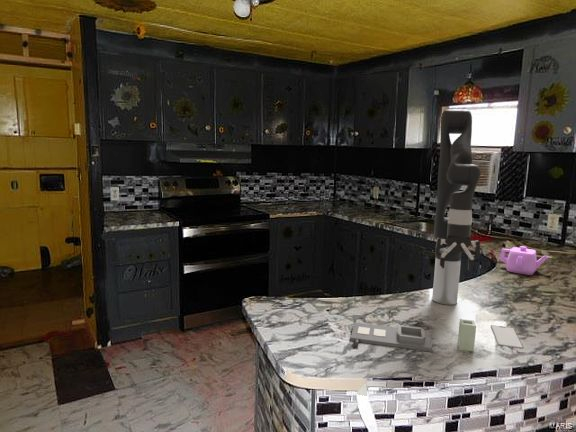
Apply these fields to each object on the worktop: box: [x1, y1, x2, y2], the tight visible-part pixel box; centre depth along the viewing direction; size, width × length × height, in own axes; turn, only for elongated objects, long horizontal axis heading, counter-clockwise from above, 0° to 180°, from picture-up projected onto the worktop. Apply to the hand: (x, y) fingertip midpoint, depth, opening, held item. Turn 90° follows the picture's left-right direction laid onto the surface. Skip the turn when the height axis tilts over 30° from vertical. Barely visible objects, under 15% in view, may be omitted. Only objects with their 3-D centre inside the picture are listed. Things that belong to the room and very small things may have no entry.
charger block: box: [457, 318, 477, 352], centre depth 127 cm, size 4×4×8 cm
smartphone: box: [490, 325, 525, 349], centre depth 135 cm, size 7×1×15 cm
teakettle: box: [499, 245, 549, 276], centre depth 210 cm, size 17×17×12 cm
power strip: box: [350, 322, 433, 353], centre depth 130 cm, size 16×24×3 cm, turn 76°
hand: (455, 269), depth 146 cm, fingers open, 8 cm apart
